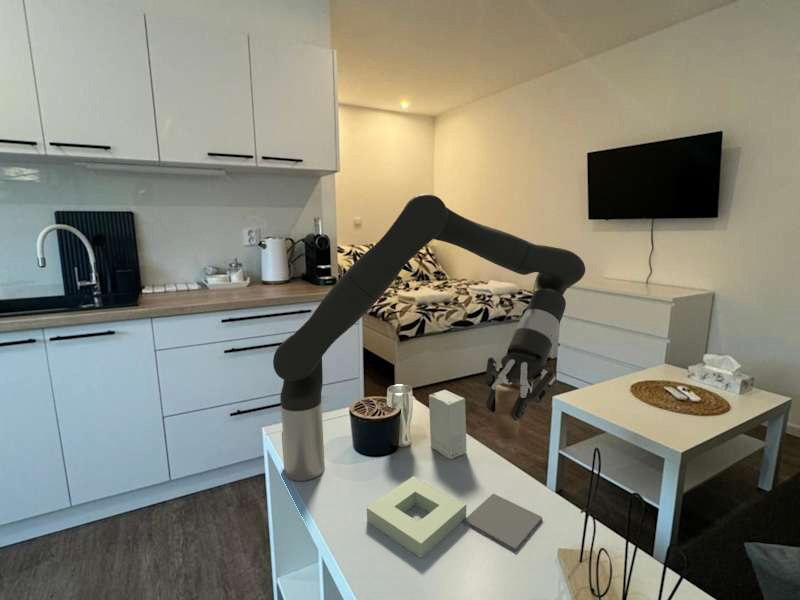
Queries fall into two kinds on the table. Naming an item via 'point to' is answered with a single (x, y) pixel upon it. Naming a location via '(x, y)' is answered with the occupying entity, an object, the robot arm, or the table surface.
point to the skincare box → (447, 423)
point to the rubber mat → (503, 521)
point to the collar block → (406, 529)
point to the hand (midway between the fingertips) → (502, 414)
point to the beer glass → (402, 409)
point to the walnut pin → (506, 411)
